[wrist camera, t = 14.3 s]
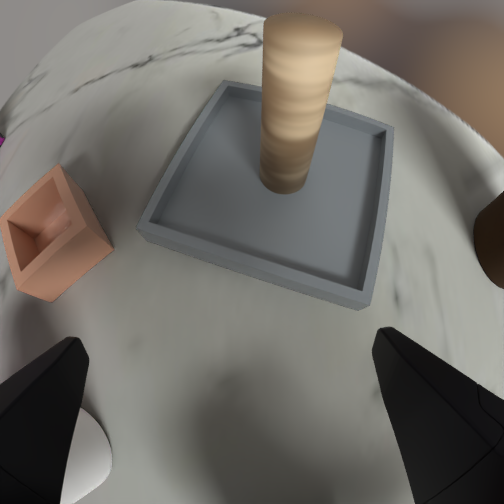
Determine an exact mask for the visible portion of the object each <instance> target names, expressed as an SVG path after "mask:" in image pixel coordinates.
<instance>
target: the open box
mask: <svg viewBox="0 0 504 504" xmlns="http://www.w3.org/2000/svg"><path fill="white" fill-rule="evenodd" d="M0 227H1V232H2V237H3V241H4V246H5V250H6V254H7V258H8V261H9V265H10V269H11V272H12V275H13V279H14V282H15V285H16V288H17V290H19V291H21V292H24V293H26V294H29V295H32V296H34V297H37V298H40V299H42V300H45V301H48V302H51V303H52V302H53V301H54V300H55V299H56V298H58V297H59V296H60V295H61V294H62V293H63V292H64V291H65V290H67V289H68V288H69V287H70V286H71V285H72V284H73V283H75V282H76V281H77V280H78V279H79V278H80V277H82V276H83V275H84V274H85V273H86V272H88V271H89V270H90V269H91V268H92V267H94V266H95V265H96V264H97V263H98V262H100V261H101V260H102V259H103V258H105V257H106V256H107V255H108V254H109V253H111V252H112V251H113V250H114V248H113V247H112V245H111V243H110V241H109V239H108V238H107V236H106V234H105V232H104V230H103V229H102V227H101V225H100V223H99V221H98V219H97V217H96V216H95V214H94V212H93V210H92V208H91V206H90V204H89V202H88V200H87V198H86V196H85V194H84V192H83V190H82V189H81V188H80V187H79V186H78V185H77V184H76V182H75V181H74V180H73V179H72V178H71V177H70V175H69V174H68V173H67V172H66V171H65V170H64V168H63V167H62V166H61V165H60V164H59V163H58V164H57V165H56V166H55V167H54V168H52V169H51V170H50V171H49V172H48V173H46V174H45V175H44V176H43V177H42V178H41V179H40V180H38V181H37V182H36V183H35V184H34V185H33V186H32V187H31V188H30V189H29V190H28V191H27V192H25V193H24V194H23V195H22V196H21V197H20V198H19V199H18V200H17V201H16V202H15V203H14V204H13V205H12V206H11V207H10V208H9V209H8V210H7V211H6V212H5V213H4V214H3V215H2V217H1V218H0Z"/></svg>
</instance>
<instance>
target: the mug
mask: <svg viewBox="0 0 504 504" xmlns="http://www.w3.org/2000/svg"><path fill="white" fill-rule="evenodd" d="M111 467H112V452H111V448H110V444H109V442H108V439H107V437H106V435H105V433H104V431H103V430H102V428H101V427H100V425H99V424H98V423H97V421H96V420H95V419H94V418H93V417H92V416H91V415H90V414H89V413H88V412H86V411H85V410H84V409H82V408H80V411H79V414H78V418H77V422H76V426H75V430H74V434H73V438H72V442H71V447H70V451H69V456H68V461H67V466H66V471H65V476H64V482H63V488H62V494H61V501H60V504H73V503H75V502H76V501H78V500H79V499H81V498H82V497H84V496H85V495H86V494H88V493H89V492H91V491H92V490H93V489H95V488H96V487H98V486H99V485H100V484H101V483H102V482H103V481H104V480H105V479H106V478H107V477H108V475H109V473H110V471H111Z"/></svg>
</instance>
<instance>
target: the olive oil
mask: <svg viewBox="0 0 504 504" xmlns="http://www.w3.org/2000/svg"><path fill="white" fill-rule="evenodd" d="M474 242H475V248H476V252H477V255H478V258H479V261H480V263H481V265H482V267H483V269H484V271H485V273H486V274H487V276H488V277H489V278H490V279H491V281H492V282H493V283H494V284H496V285H497V286H498V287H500V288H502V289H504V191H503V192H502V193H501V194H500V195H499V196H498V197H497V198H496V199H495V200H493V201H492V202H491V203H490V204H489V205H488V206H487V207H485V208H484V209H483V210H482V211H481V212H480V213H479V215H478V216H477V218H476V221H475V225H474Z"/></svg>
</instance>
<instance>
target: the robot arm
mask: <svg viewBox="0 0 504 504" xmlns="http://www.w3.org/2000/svg"><path fill="white" fill-rule="evenodd" d="M372 356H373V360H374V364H375V368H376V372H377V377H378V381H379V385H380V390H381V394H382V398H383V401H384V404H385V407H386V410H387V412H388V415H389V418H390V421H391V424H392V427H393V430H394V433H395V436H396V440H397V443H398V446H399V449H400V452H401V456H402V459H403V462H404V466H405V469H406V472H407V476H408V479H409V483H410V487H411V490H412V494H413V498H414V502H415V504H504V400H503V399H501V398H499V397H498V396H496V395H495V394H493V393H492V392H490V391H488V390H487V389H485V388H484V387H482V386H481V385H479V384H477V383H476V382H475V381H473V380H472V379H470V378H469V377H467V376H466V375H464V374H463V373H461V372H460V371H458V370H457V369H455V368H454V367H452V366H451V365H449V364H448V363H446V362H445V361H443V360H442V359H440V358H439V357H437V356H436V355H434V354H433V353H431V352H430V351H428V350H427V349H425V348H424V347H422V346H421V345H419V344H418V343H416V342H414V341H413V340H411V339H410V338H408V337H407V336H405V335H404V334H402V333H401V332H399V331H398V330H396V329H395V328H393V327H384V328H380V329H378V331H377V333H376V337H375V341H374V344H373V348H372ZM88 367H89V356H88V354H87V352H86V350H85V348H84V346H83V344H82V341H81V340H80V339H79V338H78V337H66V338H65V339H63V340H62V341H61V342H59V343H58V344H56V345H55V346H53V347H52V348H50V349H49V350H48V351H46V352H45V353H43V354H42V355H40V356H39V357H38V358H36V359H35V360H33V361H32V362H31V363H29V364H28V365H26V366H25V367H24V368H22V369H21V370H19V371H18V372H17V373H15V374H14V375H12V376H11V377H10V378H8V379H7V380H6V381H4V382H3V383H1V384H0V504H60V501H61V494H62V488H63V482H64V476H65V471H66V466H67V461H68V456H69V451H70V447H71V442H72V438H73V434H74V430H75V426H76V422H77V418H78V414H79V411H80V407H81V403H82V398H83V392H84V387H85V382H86V376H87V371H88Z"/></svg>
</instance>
